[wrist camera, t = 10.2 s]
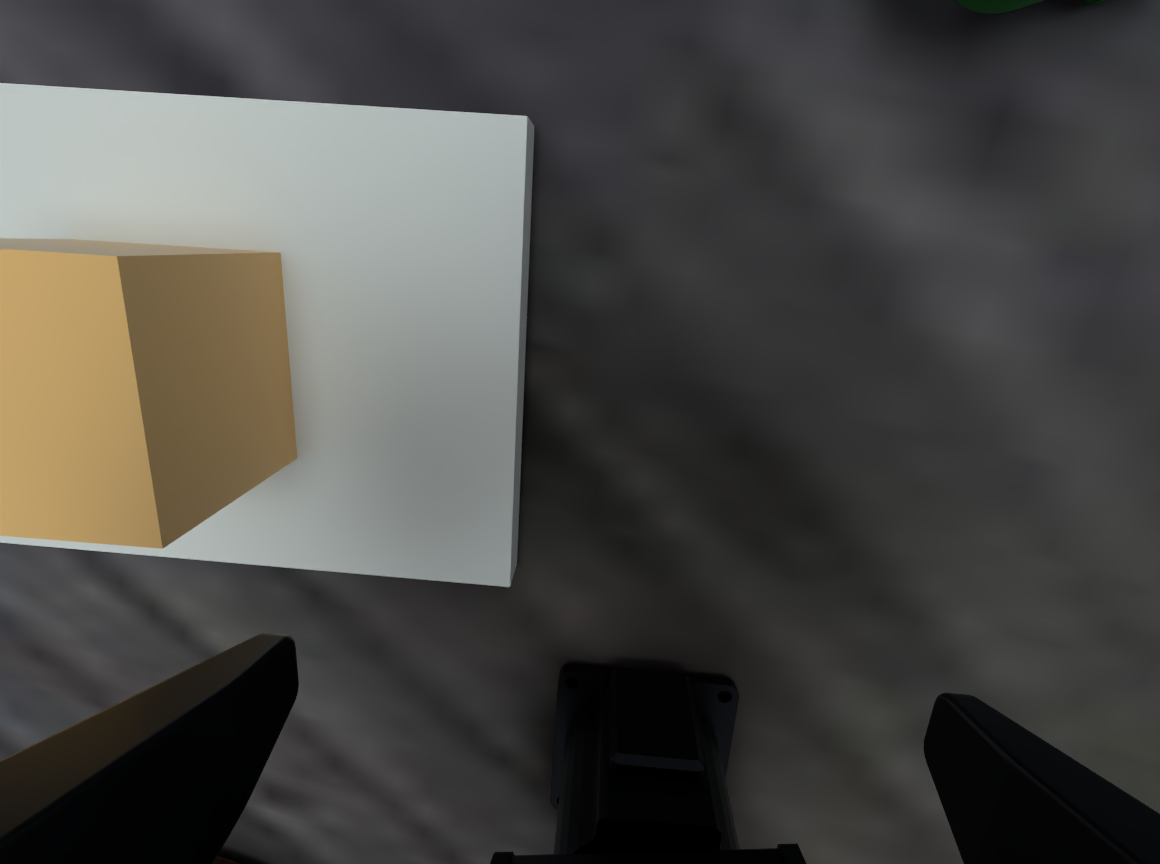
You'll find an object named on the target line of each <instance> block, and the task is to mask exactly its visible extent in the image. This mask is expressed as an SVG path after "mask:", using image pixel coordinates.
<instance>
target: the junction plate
mask: <svg viewBox="0 0 1160 864" xmlns="http://www.w3.org/2000/svg"><path fill="white" fill-rule="evenodd" d="M533 151H534V125H533V124H532V122H531V121H530V119H529V118H528V116H518V115H502V114H486V113H470V112H454V111H438V110H422V109H406V108H390V107H374V106H358V105H342V104H326V103H310V102H294V101H278V100H262V99H246V98H230V97H214V96H198V95H182V94H167V93H151V92H135V91H119V90H103V89H87V88H71V87H55V86H39V85H23V84H7V83H0V238H27V239H78V240H94V241H109V242H125V243H141V244H156V245H172V246H188V247H204V248H219V249H235V250H251V251H267V252H281V263H282V276H283V288H284V300H285V313H286V325H287V337H288V350H289V362H290V374H291V387H292V399H293V412H294V424H295V436H296V449H297V459H295V460H294V461H292V462H291V463H289V464H288V465H287V466H285V467H284V468H282V469H281V470H279V471H278V472H276V473H275V474H273V475H272V476H270V477H269V478H267V479H266V480H264V481H263V482H261V483H260V484H258V485H257V486H255V487H254V488H252V489H251V490H249V491H248V492H246V493H245V494H243V495H242V496H240V497H239V498H237V499H236V500H234V501H233V502H232V503H230V504H229V505H227V506H226V507H224V508H223V509H221V510H220V511H218V512H217V513H215V514H214V515H212V516H211V517H209V518H208V519H206V520H205V521H203V522H202V523H200V524H199V525H197V526H196V527H194V528H193V529H191V530H190V531H188V532H187V533H185V534H184V535H182V536H181V537H179V538H178V539H177V540H175V541H174V542H172V543H171V544H169V545H168V546H166V547H165V548H163V549H159V548H147V547H135V546H122V545H110V544H98V543H85V542H73V541H61V540H48V539H36V538H24V537H11V536H0V542H1V543H13V544H24V545H35V546H47V547H58V548H70V549H81V550H92V551H104V552H115V553H126V554H138V555H149V556H161V557H172V558H183V559H195V560H206V561H218V562H229V563H240V564H252V565H263V566H275V567H286V568H297V569H309V570H320V571H332V572H343V573H354V574H366V575H377V576H389V577H400V578H411V579H423V580H434V581H446V582H457V583H468V584H480V585H491V586H503V587H510V585H511V582H512V579H513V576H514V572H515V569H516V566H517V550H518V525H519V500H520V475H521V450H522V425H523V401H524V376H525V351H526V326H527V301H528V276H529V251H530V226H531V201H532V176H533Z"/></svg>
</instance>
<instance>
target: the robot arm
mask: <svg viewBox="0 0 1160 864" xmlns="http://www.w3.org/2000/svg"><path fill="white" fill-rule="evenodd" d="M568 677H575V678H577V679H578V680H576V681H570V680H568V679H567V678H568ZM298 685H299V682H298V670H297V658H296V647H295V642H294V639H293V638H292V637H291V636H290V635H285V634H274V633H262V634H259V635H257V636H255V637H253V638H251V639H249V640H247V641H245V642H243V643H241V644H238V645H236V646H234V647H232V648H230V649H228V650H226V651H224V652H222V653H220V654H218V655H216V656H214V657H212V658H210V659H208V660H206V661H204V662H202V663H200V664H198V665H196V666H193V667H191V668H189V669H187V670H185V671H183V672H181V673H179V674H177V675H175V676H173V677H171V678H169V679H167V680H165V681H163V682H161V683H159V684H157V685H155V686H153V687H151V688H149V689H146V690H144V691H142V692H140V693H138V694H136V695H134V696H132V697H130V698H128V699H126V700H124V701H122V702H120V703H118V704H116V705H114V706H112V707H110V708H108V709H106V710H104V711H101V712H99V713H97V714H95V715H93V716H91V717H89V718H87V719H85V720H83V721H81V722H79V723H77V724H75V725H73V726H71V727H69V728H67V729H65V730H63V731H61V732H59V733H57V734H54V735H52V736H50V737H48V738H46V739H44V740H42V741H40V742H38V743H36V744H34V745H32V746H30V747H28V748H26V749H24V750H22V751H20V752H18V753H16V754H14V755H12V756H9V757H7V758H5V759H3V760H1V761H0V864H212V863H213V862H214V860H215V858H216V857H217V855H218V853H219V852H220V850H221V848H222V846H223V845H224V843H225V841H226V840H227V838H228V836H229V835H230V833H231V831H232V829H233V828H234V826H235V824H236V822H237V821H238V819H239V817H240V815H241V814H242V812H243V810H244V808H245V806H246V804H247V802H248V800H249V798H250V796H251V794H252V792H253V790H254V788H255V786H256V784H257V782H258V780H259V777H260V775H261V773H262V771H263V769H264V767H265V765H266V762H267V760H268V758H269V756H270V754H271V752H272V750H273V747H274V745H275V743H276V741H277V739H278V737H279V735H280V732H281V730H282V728H283V726H284V724H285V722H286V719H287V717H288V715H289V713H290V711H291V709H292V707H293V704H294V702H295V700H296V697H297V693H298ZM722 691H728V692H729V693H727V694H726V695H720V694H719V693H720V692H722ZM738 700H739V694H738V690H737V686H736V684H735V683H734V682H733V681H732V680H731V679H728V678H723V677H712V676H701V675H690V674H681V673H670V672H659V671H648V670H637V669H626V668H614V667H603V666H592V665H581V664H568V665H566V666H564V667H563V668H562V669H561V670H560V673H559V680H558V693H557V708H556V723H555V738H554V753H553V768H552V783H551V798H550V800H551V804H552V805H553V807H554V808H556V809H557V810H558V816H557V826H556V836H555V846H554V854H551V855H515V856H514V853H513V852H495V853H494V855H493V858H492V860H491V863H490V864H806V862H805V860H804V858H803V855H802V853H801V851H800V848H799V846H798V844H778V846H777V848H769V849H739V845H738V840H737V835H736V830H735V825H734V820H733V815H732V811H731V806H730V801H729V796H728V791H727V786H726V781H725V776H726V770H727V764H728V758H729V752H730V747H731V741H732V735H733V729H734V723H735V717H736V712H737V706H738ZM924 754H925V758H926V762H927V765H928V767H929V770H930V773H931V776H932V778H933V781H934V784H935V786H936V789H937V792H938V795H939V797H940V800H941V803H942V805H943V808H944V811H945V814H946V816H947V819H948V822H949V825H950V827H951V830H952V833H953V835H954V838H955V841H956V844H957V846H958V849H959V852H960V854H961V857H962V860H963V862H964V864H1160V814H1159V813H1157V812H1156V811H1154V810H1153V809H1151V808H1150V807H1148V806H1146V805H1145V804H1143V803H1142V802H1140V801H1139V800H1137V799H1135V798H1134V797H1132V796H1131V795H1129V794H1128V793H1126V792H1124V791H1123V790H1121V789H1120V788H1118V787H1116V786H1115V785H1113V784H1112V783H1110V782H1109V781H1107V780H1105V779H1104V778H1102V777H1101V776H1099V775H1098V774H1096V773H1094V772H1093V771H1091V770H1090V769H1088V768H1087V767H1085V766H1083V765H1082V764H1080V763H1079V762H1077V761H1075V760H1074V759H1072V758H1071V757H1069V756H1068V755H1066V754H1064V753H1063V752H1061V751H1060V750H1058V749H1057V748H1055V747H1053V746H1052V745H1050V744H1049V743H1047V742H1046V741H1044V740H1042V739H1041V738H1039V737H1038V736H1036V735H1035V734H1033V733H1031V732H1030V731H1028V730H1027V729H1025V728H1023V727H1022V726H1020V725H1019V724H1017V723H1016V722H1014V721H1012V720H1011V719H1009V718H1008V717H1006V716H1005V715H1003V714H1001V713H1000V712H998V711H997V710H995V709H994V708H992V707H990V706H989V705H987V704H986V703H984V702H982V701H981V700H979V699H978V698H976V697H974V696H971V695H964V694H953V693H943V694H940V695H939V696H938V697H937V698H936V701H935V703H934V707H933V710H932V714H931V717H930V721H929V725H928V728H927V732H926V735H925V739H924Z"/></svg>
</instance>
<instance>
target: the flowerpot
mask: <svg viewBox="0 0 1160 864" xmlns="http://www.w3.org/2000/svg"><path fill="white" fill-rule="evenodd" d="M212 864H239V863H237V862H235V861H233V860H230V859H227V858H224V857H220V856H217V857H216V858H215V860H214V862H213V863H212Z"/></svg>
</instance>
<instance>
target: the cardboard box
mask: <svg viewBox="0 0 1160 864" xmlns="http://www.w3.org/2000/svg"><path fill="white" fill-rule="evenodd" d="M295 459H297V449H296V436H295V424H294V412H293V399H292V387H291V374H290V362H289V350H288V337H287V325H286V313H285V300H284V288H283V276H282V263H281V252H267V251H251V250H235V249H219V248H204V247H188V246H172V245H156V244H141V243H125V242H109V241H94V240H78V239H27V238H0V536H11V537H24V538H36V539H48V540H61V541H73V542H85V543H98V544H110V545H122V546H135V547H147V548H159V549H163V548H165V547H166V546H168V545H169V544H171V543H172V542H174V541H175V540H177V539H178V538H179V537H181V536H182V535H184V534H185V533H187V532H188V531H190V530H191V529H193V528H194V527H196V526H197V525H199V524H200V523H202V522H203V521H205V520H206V519H208V518H209V517H211V516H212V515H214V514H215V513H217V512H218V511H220V510H221V509H223V508H224V507H226V506H227V505H229V504H230V503H232V502H233V501H234V500H236V499H237V498H239V497H240V496H242V495H243V494H245V493H246V492H248V491H249V490H251V489H252V488H254V487H255V486H257V485H258V484H260V483H261V482H263V481H264V480H266V479H267V478H269V477H270V476H272V475H273V474H275V473H276V472H278V471H279V470H281V469H282V468H284V467H285V466H287V465H288V464H289V463H291V462H292V461H294V460H295Z"/></svg>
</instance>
